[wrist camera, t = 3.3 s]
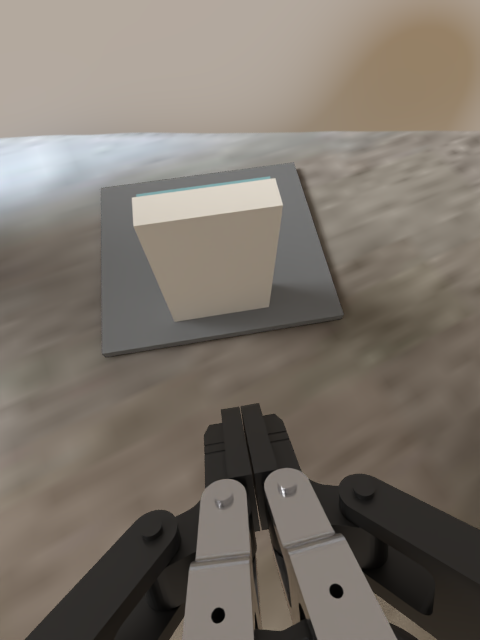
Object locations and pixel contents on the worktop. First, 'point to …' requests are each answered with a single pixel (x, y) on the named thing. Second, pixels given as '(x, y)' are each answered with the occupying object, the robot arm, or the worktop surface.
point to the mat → (161, 331)
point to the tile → (211, 245)
